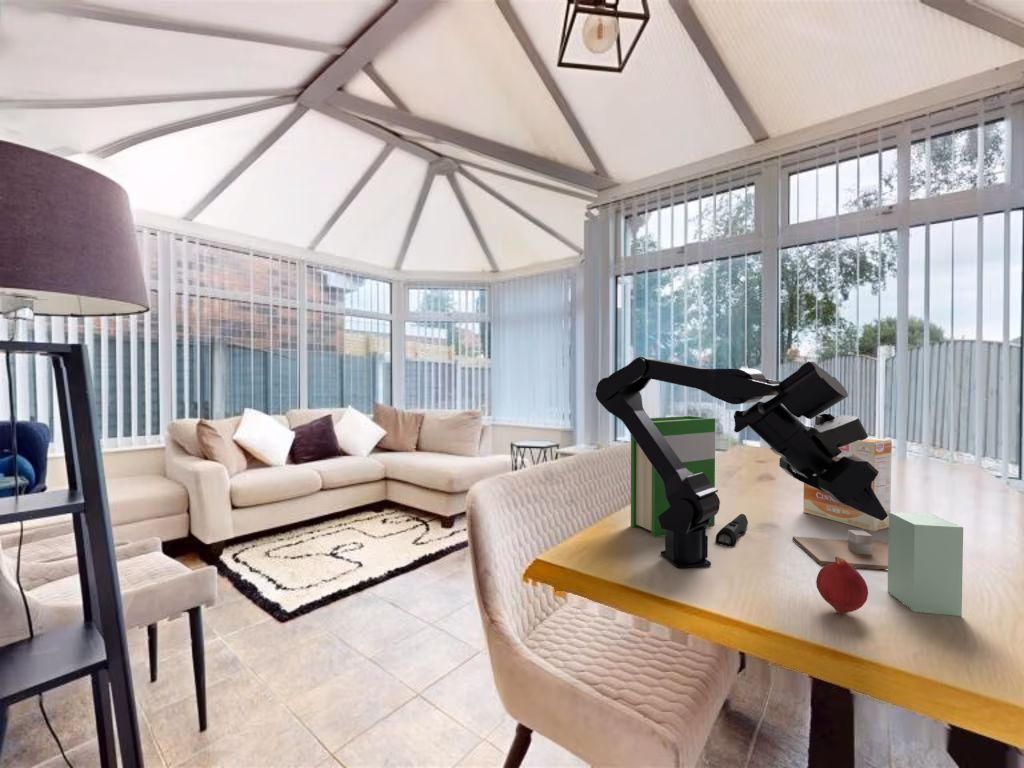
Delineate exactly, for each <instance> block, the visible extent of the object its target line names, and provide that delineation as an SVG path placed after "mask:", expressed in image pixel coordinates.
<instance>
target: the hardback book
mask: <svg viewBox="0 0 1024 768" xmlns="http://www.w3.org/2000/svg"><path fill="white" fill-rule="evenodd" d="M649 418H650V419H651V420H652V422H653V423H654V424H655V426H656V427H657V429H658V430H659V431H660V433H661V434H662V436H663V437H664V438H665V440H666V441H667V443H668V444H669V445H670V447H671V448H672V449H673V451H674V452H675V454H676V455H677V456H678V458H679V459H680V461H681V462H682V463H683V465H684V466H685V467H686V469H687V470H689V471H690V472H692V473H693V474H698V473H701V472H703V473H704V474H705V475H706V476H707V478H708V480H709V482H710V483H711V485H712V486H713V487H714V488H716V418H715V417H704V416H696V415H679V416H662V417H659V416H658V417H649ZM669 507H670V505H669V503H668V501H667V499H666V494H665V487H664V483H663V480H662V479H661V477H660V476H659V474H658V473H657V472H656V470H655V469H654V467H653V466H652V464H651V463H650V461H649V460H648V458H647V457H646V455H645V454H644V452H643V451H642V449H641V448H640V447H639V445H638V444H637V442H636V441H635V439H634V438H633V436H632V435H631V434H630V527H631V528H639V527H641V528H643V529H646V530H648V531H650V532H651V535H650V536H651V537H653V538H659V537H663V536H662V535H664V536H665V529H662V528H661V525H660V522H659V518H658V517H659V515H661V514H662V513H663V512H664V511H666V510H667V509H668V508H669ZM715 516H716V515H715ZM715 516H714V517H712V518H711V520H710V522H709V524H708V525H704V526H703V527H705V528H706V527H711V526H715V523H716V522H715V521H716V520H715V519H716V517H715ZM658 536H659V537H658Z"/></svg>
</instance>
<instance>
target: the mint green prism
mask: <svg viewBox="0 0 1024 768" xmlns="http://www.w3.org/2000/svg"><path fill="white" fill-rule="evenodd" d="M887 537H888V540H887V543H888V570H887V593H888V592H890V593H891V594H892V595H893V596H894V597H893V596H892V595H891V594H890V593H889V594H890V595H891V596H892V597H893V598H895V597H896V598H897V599H898V600H897V599H896V598H895V599H896V600H897V601H898V602H900V601H901V602H902V603H901V602H900V603H901V604H903V603H904V604H905V605H906V606H907V607H906V606H905V605H904V604H903V605H904V606H905V607H906V608H908V607H909V608H910V609H911V610H910V609H909V608H908V609H909V610H910V611H912V612H913V611H914V612H913V613H922V612H924V613H923V614H935V615H945V616H946V615H947V616H953V617H954V616H956V617H962V616H963V615H962V611H963V610H962V609H963V564H964V563H963V562H964V561H963V559H964V555H963V554H964V527H963V526H962V525H958V524H957V523H954V522H952V521H949V520H947V519H945V518H942V517H940V516H938V515H935V514H932V513H917V512H916V513H913V512H898V511H897V512H893V511H890V512H889V527H888V536H887Z"/></svg>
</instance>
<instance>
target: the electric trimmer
mask: <svg viewBox="0 0 1024 768" xmlns="http://www.w3.org/2000/svg"><path fill="white" fill-rule="evenodd" d="M748 525H749V521H748V518H747V515H745V514H744V513H740V514H739V515H738V516H736V517H735V518H733V520H731V521H730V522H728V523H727V524H726V525H725V526H723V527H722V528H720V530H719V531H718V532H717V533H716V535H715V543H716V544H717V543H718V544H717V545H720V544H721V546H724V545H726V546H725V547H729V546H731V547H730V548H732V547H736V544H737V538H738V537H739V535H740V534H741V535H744V534H745V533H746V530H747V528H748Z"/></svg>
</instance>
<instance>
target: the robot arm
mask: <svg viewBox="0 0 1024 768" xmlns="http://www.w3.org/2000/svg"><path fill="white" fill-rule="evenodd" d="M651 380H655V381H660V382H664V383H669V384H672V385H673V384H674V385H678V386H682V387H688V388H692V389H698V390H700V391H702V392H704V393H706V394H708V395H709V396H711V397H713V398H715V399H718V400H721V401H722V402H725V403H727V404H731V405H743V404H752V403H755V404H753V405H751V406H750V407H749V408H747V409H745V410H735V411H734V414H733V418H734V419H733V420H734V429H733V431H734V432H735V433H740V432H741V431H743V430H744V429H745V428H747V427H749V428H750V429H751V430H752V431H753V432H754V433H756V435H757V436H758V437H760V439H762V441H764V442H765V443H766V444H767V445H768V446H769V447H770V448H769V449H770V450H771V451H772V452H773V454H775V455H778V456H780V458H779V463H778V464H779V466H778V467H780V468H781V470H783V471H784V472H785V473H786V474H787V475H789V476H791V477H793V478H794V479H795V480H798V481H799V482H802V483H803V484H804V483H806V484H808V485H810V486H812V487H814V488H817V489H819V490H821V491H823V492H825V493H827V494H828V495H829V496H830V497H831V498H833V499H835V500H836V501H838V502H840V503H843V504H845V505H847V506H850V507H852V508H854V509H856V510H859V511H861V512H863V513H866V514H868V515H870V516H872V517H875V518H877V519H879V520H884V519H885V518H886V517H887V516H888V515H887V513H886V511H885V510H884V508H883V506H882V505H881V503H880V502H879V500H878V498H877V497H876V495H875V493H874V491H873V489H872V487H871V485H872V481H874V480H875V478H876V476H877V475H878V470H876V469H875V468H874V467H873V466H872V465H871V464H870V463H869V462H868V461H865V460H862V459H859V458H856V457H842V458H841V459H840V460H838V461H835V460H833V459H832V458H833V457H837V456H838V455H839V454H840V453H841V452H842V451H841V450H840V449H839V448H838V447H842V446H845V445H847V444H850V443H853V442H855V441H858V440H861V441H862V440H864V439H866V438H868V437H869V435H868V433H867V431H866V430H865V428H864V426H863V424H862V422H861V420H860V418H859V416H853V415H849V414H848V415H846V414H845V415H839V414H838V415H837V416H836V417H835V415H832V414H830V413H827V412H825V411H827V410H828V409H830V408H832V407H833V406H835V405H836V404H838V403H840V402H842V401H843V400H844V399H847V398H848V397H849V393H848V391H847V389H846V388H845V387H844V386H843V385H842V383H841V382H840V381H839V380H838V379H837V378H836V377H835V376H832V375H831V374H830V373H829V372H827V371H826V370H824V368H822V367H820V366H819V365H818V364H817V363H816V362H815V361H809V360H808V361H807V362H805V363H803V364H802V365H801V366H800V367H799V368H798V369H797V370H796V371H794V372H793V373H792V374H790V375H789V376H788V377H786V378H785V379H783V380H782V381H780V380H774V379H769V378H766V376H765V374H763V372H761V371H760V370H759V369H755V368H709V367H703V366H702V367H701V366H697V365H692V364H690V365H689V364H685V363H679V362H674V361H669V360H668V361H666V360H662V359H656V358H655V357H651V356H639V357H636V358H635V359H633V360H632V361H631V362H629V364H627V365H625V366H624V367H622V368H620V369H618V370H616V371H615V372H613V373H611V374H610V375H608V377H603V378H602V379H600V380H599V382H598V383H597V385H596V390H595V393H594V394H595V398H596V399H597V401H598V402H599V404H600V405H602V407H603V408H604V409H605V410H606V411H607V412H609V413H610V414H611V415H613V416H614V417H616V418H617V419H619V420H620V421H621V422H622V423H623V424H624V426H625V427H626V429H627V430H628V432H629V433H630V436H631V435H632V436H633V438H634V439H635V441H636V442H637V444H638V445H639V447H640V448H641V449H642V451H643V452H644V454H645V455H646V457H647V458H648V460H649V461H650V463H651V464H652V466H653V467H654V469H655V470H656V472H657V473H658V474H659V476H660V477H661V479H662V480H663V483H664V487H665V494H666V499H667V501H668V503H669V505H670V507H669V508H668V509H667V510H666V511H664V512H663V513H662V514H661V515H659V517H658V518H659V522H660V525H661V528H662V529H665V535H664V550H662V551H660V555H661V556H662V557H664V558H665V559H666V560H667V561H669V562H670V563H671V564H672V565H673V566H675V567H676V568H678V569H685V568H687V569H689V568H697V567H698V568H700V567H710V566H712V562H711V561H710V560H709V559H707V558H708V555H709V551H708V549H709V548H708V546H709V545H708V543H709V542H708V541H709V537H708V535H707V534H706V533H707V532H706V531H707V528H706V527H703V526H704V525H708V524H709V522H710V520H711V518H712V517H714V516H716V515H717V514H718V513H719V510H720V505H721V500H720V498H719V496H718V494H717V493H718V492H719V490H718V489H717V488H716V487H715V488H714V487H713V486H712V485H711V483H710V482H709V480H708V478H707V476H706V475H705V474H704V473H703V472H701V473H698V474H693V473H692V472H690V471H689V470H687V469H686V467H685V466H684V465H683V463H682V462H681V461H680V459H679V458H678V456H677V455H676V454H675V452H674V451H673V449H672V448H671V447H670V445H669V444H668V443H667V441H666V440H665V438H664V437H663V436H662V434H661V433H660V431H659V430H658V429H657V427H656V426H655V424H654V423H653V422H652V420H651V419H650V418H651V417H650V416H649V415H648V413H647V412H646V410H645V409H644V407H643V398H642V394H641V393H640V392H641V391H642V390H644V389H645V388H646V387H647V386H648V384H649V383H650V381H651ZM771 396H774V397H772V398H771V399H769V400H767V401H764V402H763V401H760V400H762V399H763V398H764V397H771ZM801 417H804V418H806V419H808V420H812V419H815V420H814V425H813V426H806V425H805V424H804V423H803V422H801V420H800V419H798V418H801Z"/></svg>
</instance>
